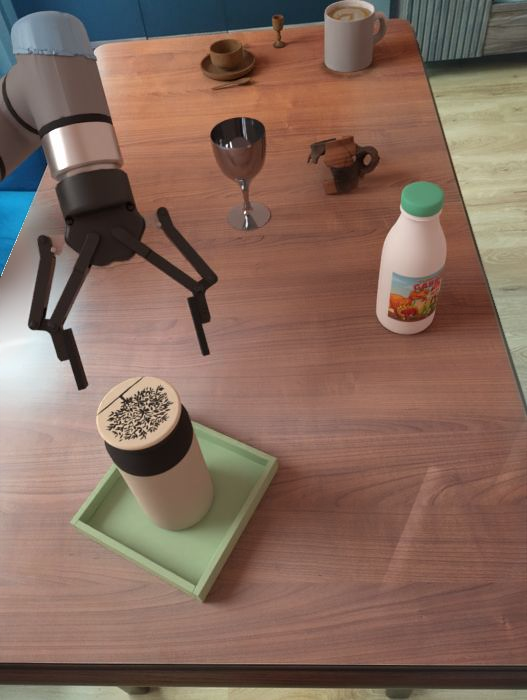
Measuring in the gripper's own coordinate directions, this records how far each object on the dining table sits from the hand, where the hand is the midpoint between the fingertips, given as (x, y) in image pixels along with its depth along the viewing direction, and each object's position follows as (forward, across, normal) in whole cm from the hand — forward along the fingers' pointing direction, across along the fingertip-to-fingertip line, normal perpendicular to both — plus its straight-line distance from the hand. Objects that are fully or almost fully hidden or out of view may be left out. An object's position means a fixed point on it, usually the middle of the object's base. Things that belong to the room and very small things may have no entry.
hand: (145, 371), depth 64 cm
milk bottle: (+3, -35, -10) cm, 36 cm away
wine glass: (-16, -21, -31) cm, 41 cm away
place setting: (-50, -35, -66) cm, 90 cm away
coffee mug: (-45, -57, -60) cm, 94 cm away
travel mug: (+15, 0, +1) cm, 15 cm away
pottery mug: (-19, -38, -33) cm, 54 cm away
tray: (+15, 0, 0) cm, 15 cm away
